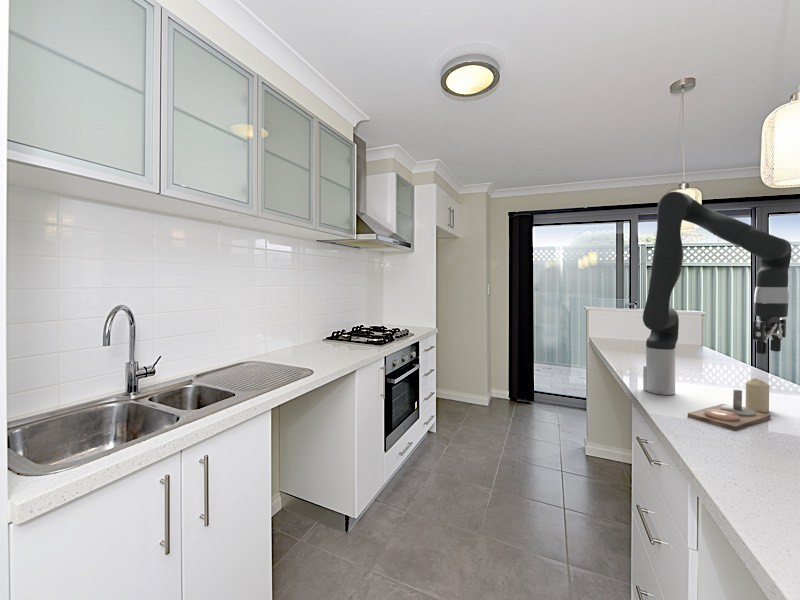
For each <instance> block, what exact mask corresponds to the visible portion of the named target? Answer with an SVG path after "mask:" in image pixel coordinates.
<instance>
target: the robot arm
mask: <svg viewBox="0 0 800 600" xmlns="http://www.w3.org/2000/svg"><path fill="white" fill-rule="evenodd" d="M656 211H657V212H656V214H657V219H656V220H657V222H656V235H655V241H654V249H653V253H652V259H651V260H652V261H651V268H650V277H649V284H648V285H649V287H648V293H647V298H646V301H645V305H644V309H643V312H642V321H643V325H644V326H645V327H646V328H647V329H648V330H650V335H649V337H648V338H646V342H645V365H643V368H642V369H643V370H642V371H643V375H642V376H643V378H642V379H643V381H642V384H643V385H642V386H643V390H644V391H646V392H649V393H652V394H655V395H661V396H662V395H663V396H672V395H675V394H676V354H677V353H676V351H677V350H676V347H677V346H676V344H677V342H678V340H679V324H680V323H679V322H680V320H679V314H678V312H677V310H675V308H673V307H671V306H670V300H671V295H672V292H673V290H674V288H675V286H676V284H677V282H678V281H679V279H680V276H681V274H682V269H683V262H684V261H683V260H684V248H683V247H684V246H683V242H682V235H681V227H682V223H683V221H685V222H688V223H690V224H691V223H692V224H693V225H696V226H699V227H700V228H702V229H703V230H706V231H707V232H709V233H710V234H712V235H713V236H716V237H718V238H720V239H722V240H724V241H725V242H728V243H730V244H732V245H734V246H737V247H740V248H742V249H744V250H745V251H747V252H748V253H750V254H752V255H754V256H756V257H757V258H760V264H759V265H760V266H759V269H758V271H757V273H756V278H755V279H756V280H755V290H754V302H753V315H754V317H760V318H759V320H753V324H752V336H751V337H752V340H753V341H754V340H755V342H756V349H755V350H756V353H757V354H760V355H766V354H767V352H768V351H767V350H768V340H769V338H770V348H769V349H770V351H772V352H778V353H779V352H781V350H782V348H781V347H782V341H783V339H784V338H786V335H787V332H786V331H787V320H786V319H787V318H786V317H788V314H789V299H790V298H789V267H790V264H791V260H792V259H791V258H792V252H793V251H792V245H791V243H790V242H789V241H788V240H787V239H784V238H782V237H777V236H776V235H775V236H774V235H772V234H769V233H768V232H764V231H762V230H759V229H758V228H757V227H755V226H754V225H750V224H748V223H746V222H744V221H741V220H739V219H736V218H734V217H731V216H729V215H725V214H722V213H720V212H717V211H715V210H713V209H711V208H708V207H707V206H705V205H703V204H702V203H700V202H699V201H697V200H695V199H694V198H693V197H692V196H690V195H689V194H686V193H684V192H681V191H676V190H675V191H668V192H667V193H666V194H664V195H663V196H662V197H661V198H660V199H659V201H658V204H657V210H656Z"/></svg>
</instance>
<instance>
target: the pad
mask: <svg viewBox="0 0 800 600" xmlns="http://www.w3.org/2000/svg"><path fill="white" fill-rule="evenodd" d="M705 415H707V416H709V417H711V418H715V419H719V420H725V421H738V420H739V415H737V414H735V413H732V412H729V411H724V410H717V409H707V410H705Z"/></svg>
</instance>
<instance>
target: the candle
mask: <svg viewBox="0 0 800 600" xmlns="http://www.w3.org/2000/svg"><path fill="white" fill-rule="evenodd" d="M745 407H746V408H749V409H752V410H754V411H756V412H760V413H768V412H769V410H770V384H769V383H768V382H766V381H765V380H762V379H758V378H755V377H754V378H750V379H749V380H747V381H746V382H745Z"/></svg>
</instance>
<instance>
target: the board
mask: <svg viewBox="0 0 800 600" xmlns="http://www.w3.org/2000/svg"><path fill="white" fill-rule="evenodd" d="M732 391H733V393H732V395H733V397H732V398H733V399H732V402H733V403H732V404H726V403H721V404H718V405H713V406H709V407H706V408H702V409H698V410H694V411H691V412H688V413H687V418H690V419H694V420H696V421H697V420H698V421H701V422H704V423H707V424H711V425H715V426H718V427H721V428H725V429H728V430H732V431H737V430H741V429H744V428H747V427H750V426H753V425H756V424H759V423H763V422H765V421H768V420H771V419H772V417H771V416H772V415H771V414H768V413H765V412H758V411H754V410H752V409H749V408H746V406H745V407H744V406H743V390H742V389H736V388H735V389H733V390H732ZM707 409H717V410H724V411H729V412H732V413H735V414H737V415H739V420H738V421H725V420H719V419H715V418H711V417H709V416H707V415H705V410H707Z"/></svg>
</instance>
